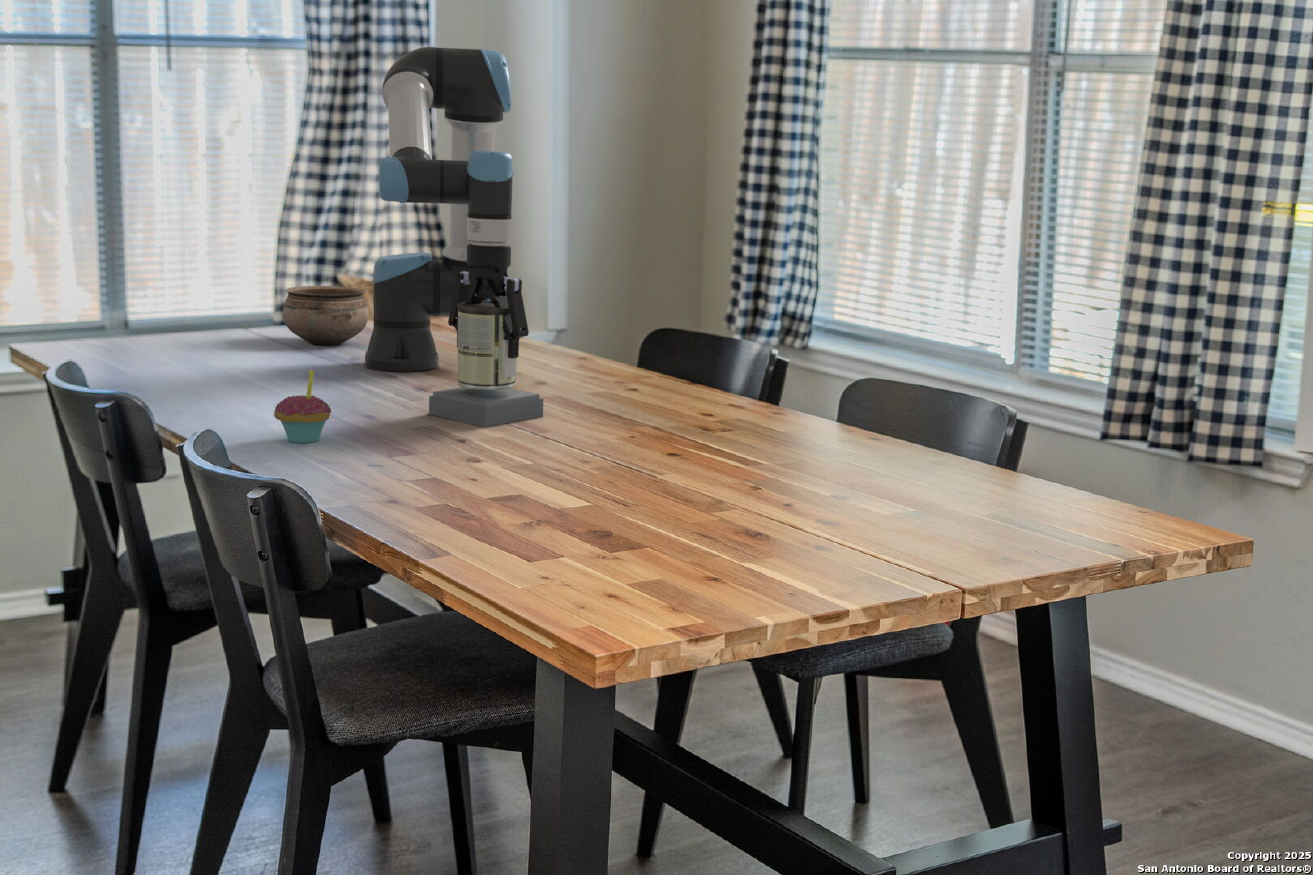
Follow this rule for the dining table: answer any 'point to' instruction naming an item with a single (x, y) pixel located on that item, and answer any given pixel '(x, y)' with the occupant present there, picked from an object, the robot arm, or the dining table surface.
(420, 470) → the dining table surface
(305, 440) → the cupcake
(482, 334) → the coffee can
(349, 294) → the cooking pot
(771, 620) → the dining table surface
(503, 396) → the pedestal
